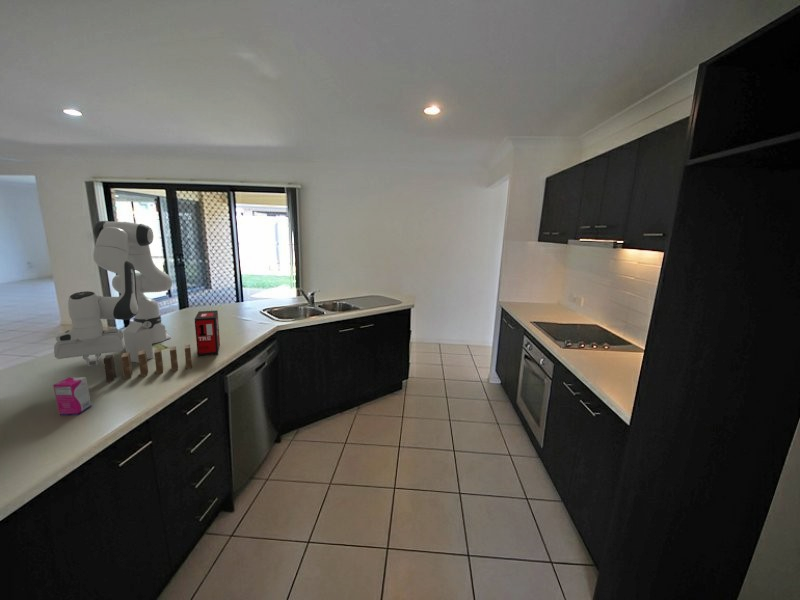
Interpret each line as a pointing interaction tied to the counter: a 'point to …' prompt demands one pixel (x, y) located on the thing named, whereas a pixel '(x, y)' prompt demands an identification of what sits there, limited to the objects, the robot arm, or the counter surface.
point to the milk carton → (137, 340)
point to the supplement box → (72, 396)
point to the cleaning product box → (207, 333)
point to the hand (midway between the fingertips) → (93, 364)
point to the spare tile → (109, 368)
